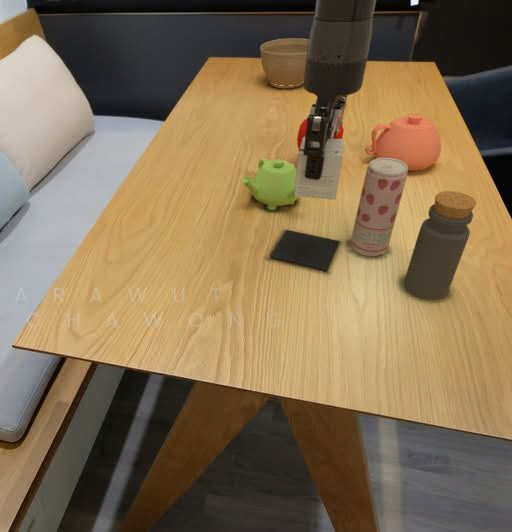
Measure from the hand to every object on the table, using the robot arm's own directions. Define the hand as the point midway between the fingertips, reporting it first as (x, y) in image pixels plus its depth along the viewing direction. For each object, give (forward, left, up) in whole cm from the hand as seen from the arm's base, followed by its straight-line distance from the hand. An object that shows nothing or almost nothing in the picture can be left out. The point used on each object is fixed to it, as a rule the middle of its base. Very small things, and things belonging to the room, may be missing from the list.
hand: (318, 167), depth 79 cm
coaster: (0, 0, -15) cm, 15 cm away
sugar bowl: (-9, -39, -16) cm, 43 cm away
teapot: (+9, -14, -16) cm, 23 cm away
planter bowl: (+27, -82, -16) cm, 88 cm away
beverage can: (-9, -5, -16) cm, 19 cm away
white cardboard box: (0, 0, -4) cm, 4 cm away
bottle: (-18, +2, -16) cm, 24 cm away
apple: (+6, -31, -16) cm, 35 cm away
